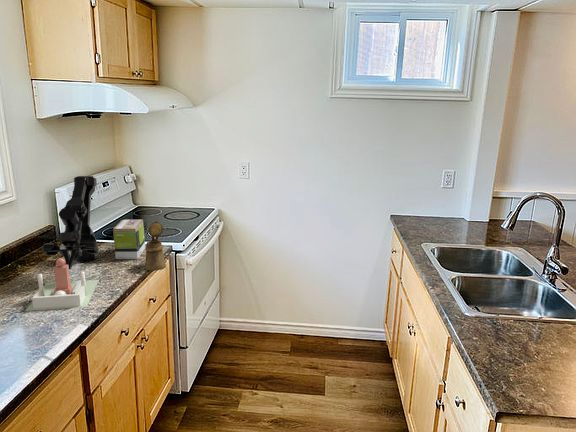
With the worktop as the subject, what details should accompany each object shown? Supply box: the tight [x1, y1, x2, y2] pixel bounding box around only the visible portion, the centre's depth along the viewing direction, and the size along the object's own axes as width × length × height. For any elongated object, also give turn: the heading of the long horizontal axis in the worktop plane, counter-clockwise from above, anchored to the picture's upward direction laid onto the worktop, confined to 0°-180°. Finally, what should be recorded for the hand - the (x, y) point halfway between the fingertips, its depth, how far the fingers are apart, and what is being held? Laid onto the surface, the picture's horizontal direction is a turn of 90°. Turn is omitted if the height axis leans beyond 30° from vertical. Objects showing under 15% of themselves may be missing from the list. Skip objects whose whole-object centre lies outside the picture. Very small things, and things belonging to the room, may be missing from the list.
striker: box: [53, 257, 73, 295], centre depth 155 cm, size 4×5×14 cm
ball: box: [54, 290, 67, 296], centre depth 152 cm, size 4×4×4 cm
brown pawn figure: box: [144, 221, 167, 272], centre depth 187 cm, size 9×14×18 cm, turn 8°
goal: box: [31, 271, 87, 309], centre depth 152 cm, size 9×15×9 cm, turn 103°
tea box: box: [112, 219, 146, 260], centre depth 200 cm, size 15×10×15 cm, turn 5°
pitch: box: [25, 279, 100, 312], centre depth 159 cm, size 24×19×2 cm
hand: (68, 269), depth 164 cm, fingers closed
